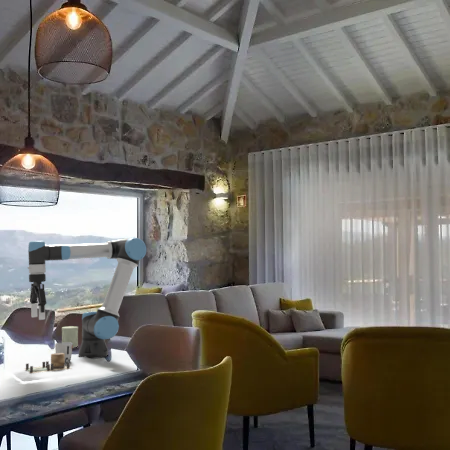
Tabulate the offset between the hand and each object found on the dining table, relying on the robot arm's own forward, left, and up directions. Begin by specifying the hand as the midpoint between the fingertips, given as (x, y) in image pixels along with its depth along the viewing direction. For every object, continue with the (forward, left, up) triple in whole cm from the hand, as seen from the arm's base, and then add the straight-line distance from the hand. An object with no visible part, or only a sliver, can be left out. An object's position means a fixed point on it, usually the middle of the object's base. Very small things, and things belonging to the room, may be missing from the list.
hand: (38, 318), depth 265 cm
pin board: (-1, +12, -23) cm, 26 cm away
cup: (-12, 0, -23) cm, 26 cm away
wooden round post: (-6, +12, -22) cm, 26 cm away
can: (-31, -50, -23) cm, 63 cm away
